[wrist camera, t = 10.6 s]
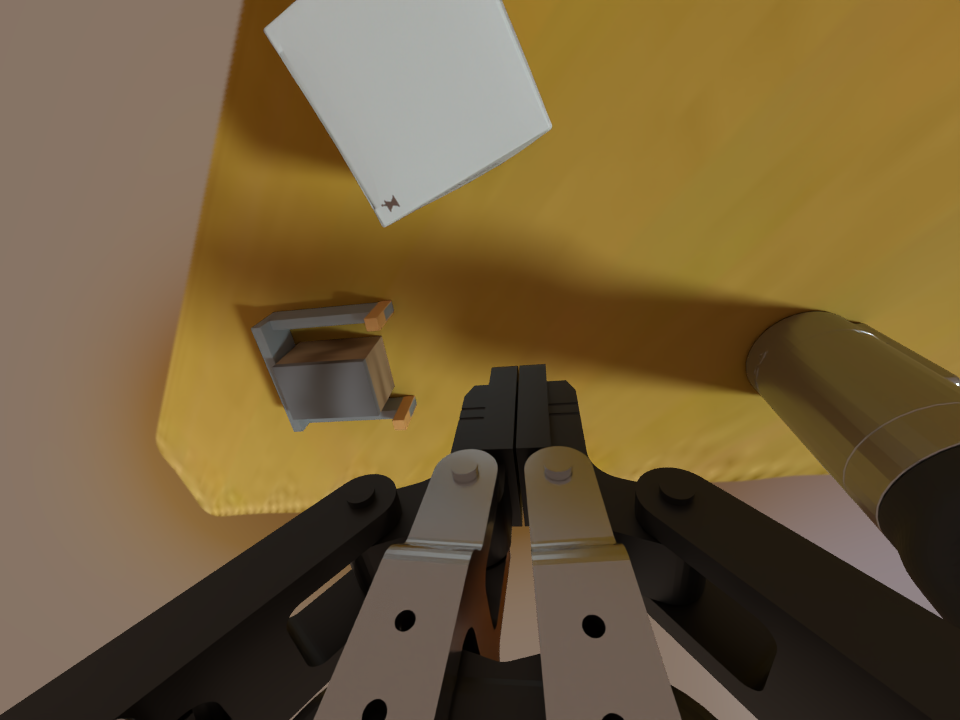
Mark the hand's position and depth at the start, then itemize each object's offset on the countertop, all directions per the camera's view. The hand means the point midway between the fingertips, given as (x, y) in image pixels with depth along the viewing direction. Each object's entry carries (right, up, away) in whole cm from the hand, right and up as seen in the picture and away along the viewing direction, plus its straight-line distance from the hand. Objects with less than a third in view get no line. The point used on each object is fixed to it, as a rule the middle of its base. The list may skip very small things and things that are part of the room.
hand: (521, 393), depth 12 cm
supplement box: (-2, +21, +20) cm, 29 cm away
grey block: (-15, +1, +33) cm, 36 cm away
